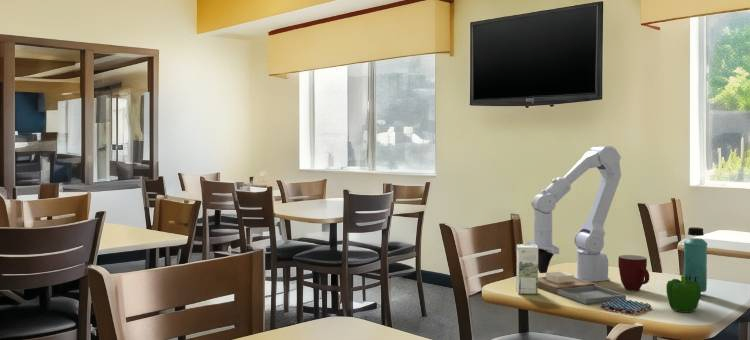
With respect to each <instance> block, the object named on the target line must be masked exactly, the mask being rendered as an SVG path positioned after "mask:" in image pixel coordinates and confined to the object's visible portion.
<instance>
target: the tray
mask: <svg viewBox="0 0 750 340" xmlns="http://www.w3.org/2000/svg"><path fill="white" fill-rule="evenodd" d="M556 295H558V296H560V297H563V298H565V299H566V298H567V299H569V300H572V301H574V302H577V303H580V304H583V305H593V304H594V305H595V304H601V303H605V302H608V301H612V300H615V299H618V298H621V299H626V300H627V295H626V294H625V293H622V292H619V291H616V290H612V289H608V288H605V287H603V286H598V285H596V284H595V286H586V287H576V288H567V289H557V294H556Z"/></svg>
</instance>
